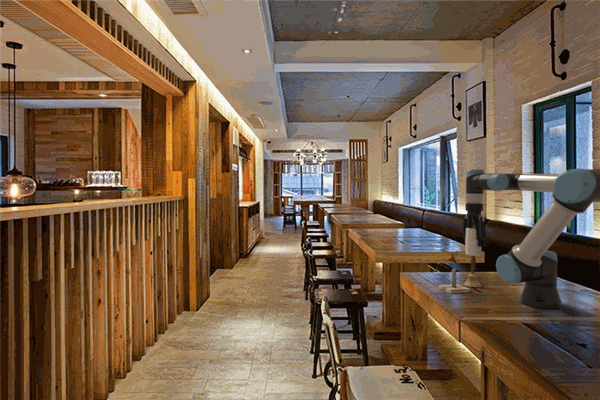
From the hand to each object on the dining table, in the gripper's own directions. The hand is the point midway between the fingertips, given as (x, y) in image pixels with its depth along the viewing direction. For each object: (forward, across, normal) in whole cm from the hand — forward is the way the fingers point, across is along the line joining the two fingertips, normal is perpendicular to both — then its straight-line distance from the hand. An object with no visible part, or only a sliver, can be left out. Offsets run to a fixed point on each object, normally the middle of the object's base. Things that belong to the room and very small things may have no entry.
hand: (473, 251), depth 191 cm
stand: (+20, +7, +5) cm, 22 cm away
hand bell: (+20, +12, -9) cm, 25 cm away
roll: (+1, 0, 0) cm, 1 cm away
